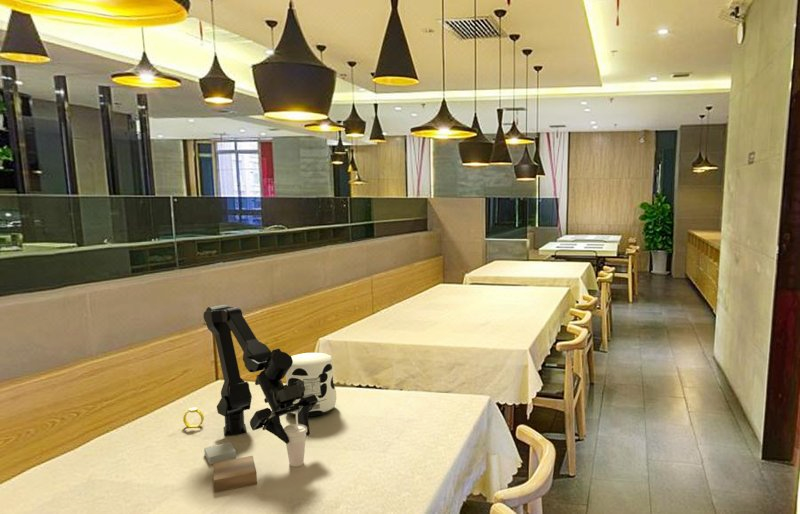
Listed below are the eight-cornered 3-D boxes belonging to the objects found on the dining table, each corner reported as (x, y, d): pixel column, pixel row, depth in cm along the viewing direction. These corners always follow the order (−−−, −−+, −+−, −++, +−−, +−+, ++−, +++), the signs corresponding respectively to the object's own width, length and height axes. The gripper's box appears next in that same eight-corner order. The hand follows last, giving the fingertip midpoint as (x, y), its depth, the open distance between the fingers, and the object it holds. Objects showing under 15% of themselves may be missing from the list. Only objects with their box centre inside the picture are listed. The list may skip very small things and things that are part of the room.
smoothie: (303, 469, 142) (301, 417, 141) (280, 468, 143) (278, 416, 142) (312, 458, 148) (310, 408, 147) (289, 457, 149) (287, 407, 148)
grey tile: (204, 454, 153) (204, 447, 152) (230, 448, 156) (229, 441, 156) (209, 464, 147) (209, 457, 146) (236, 458, 150) (235, 451, 150)
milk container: (311, 398, 196) (309, 349, 195) (347, 407, 186) (345, 355, 184) (273, 414, 182) (271, 361, 181) (311, 424, 172) (308, 368, 170)
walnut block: (213, 473, 141) (212, 462, 141) (253, 466, 145) (252, 455, 144) (214, 492, 132) (213, 480, 132) (257, 483, 135) (256, 472, 135)
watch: (204, 425, 175) (204, 407, 174) (201, 429, 172) (201, 410, 171) (185, 424, 175) (185, 406, 174) (182, 428, 172) (182, 410, 171)
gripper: (253, 381, 140) (279, 435, 133) (312, 365, 153) (339, 413, 146) (239, 404, 146) (263, 456, 139) (297, 386, 159) (322, 433, 152)
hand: (298, 438), depth 144 cm, fingers closed on smoothie, 6 cm apart
